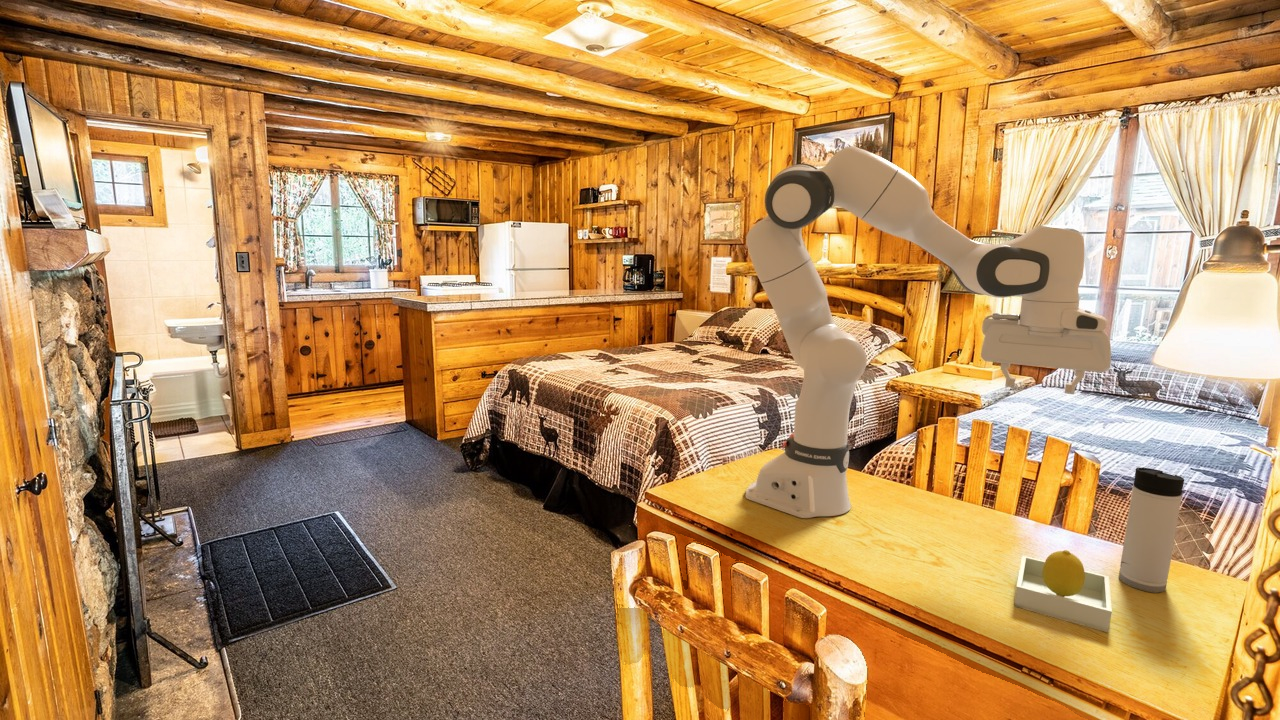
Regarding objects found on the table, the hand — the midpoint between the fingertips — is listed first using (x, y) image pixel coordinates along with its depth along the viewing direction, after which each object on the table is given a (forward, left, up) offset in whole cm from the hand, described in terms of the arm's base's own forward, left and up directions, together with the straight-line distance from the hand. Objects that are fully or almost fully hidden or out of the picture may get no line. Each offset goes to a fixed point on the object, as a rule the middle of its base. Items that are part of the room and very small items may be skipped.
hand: (1039, 389), depth 118 cm
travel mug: (+18, -9, -29) cm, 35 cm away
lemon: (+7, -23, -29) cm, 37 cm away
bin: (+7, -23, -29) cm, 38 cm away
